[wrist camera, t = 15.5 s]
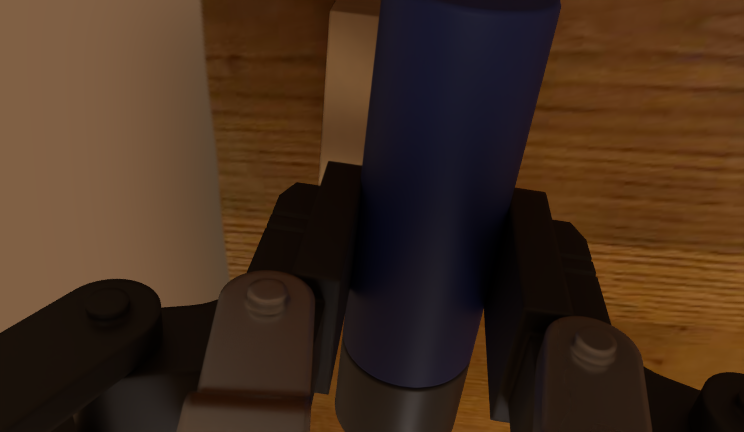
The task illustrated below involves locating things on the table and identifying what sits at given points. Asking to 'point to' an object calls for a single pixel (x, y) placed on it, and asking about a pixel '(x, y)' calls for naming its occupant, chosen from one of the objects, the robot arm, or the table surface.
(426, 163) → the blue cylinder
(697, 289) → the table surface
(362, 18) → the wooden block
